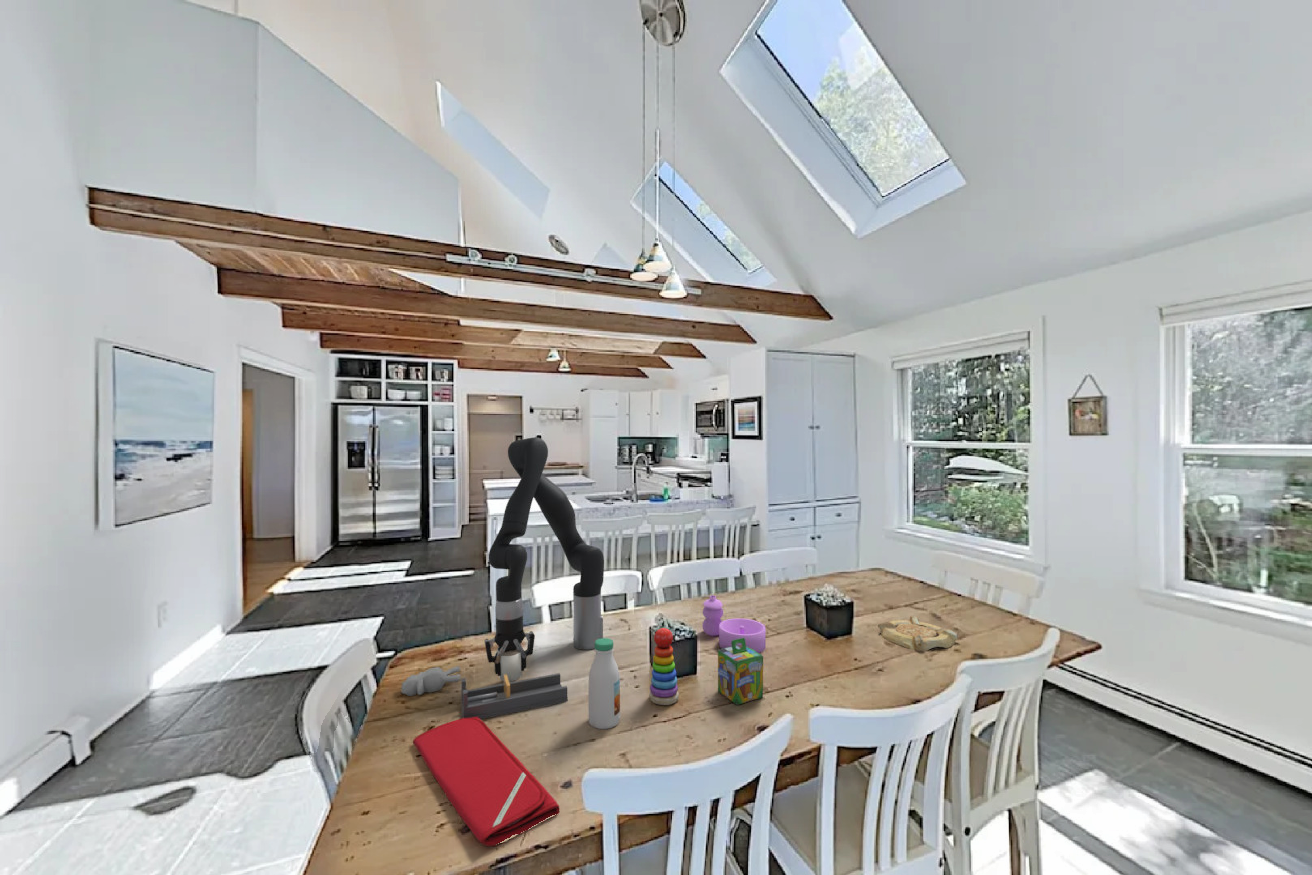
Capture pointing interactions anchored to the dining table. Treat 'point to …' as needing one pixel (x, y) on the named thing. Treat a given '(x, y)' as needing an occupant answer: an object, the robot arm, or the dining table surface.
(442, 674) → the bunny figurine
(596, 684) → the milk bottle
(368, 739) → the dining table surface
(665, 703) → the stacking toy
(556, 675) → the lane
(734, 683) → the chalk box
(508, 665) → the spice jar
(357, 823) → the dining table surface
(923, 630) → the ashtray
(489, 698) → the pusher
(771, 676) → the dining table surface
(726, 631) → the container set
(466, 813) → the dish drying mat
